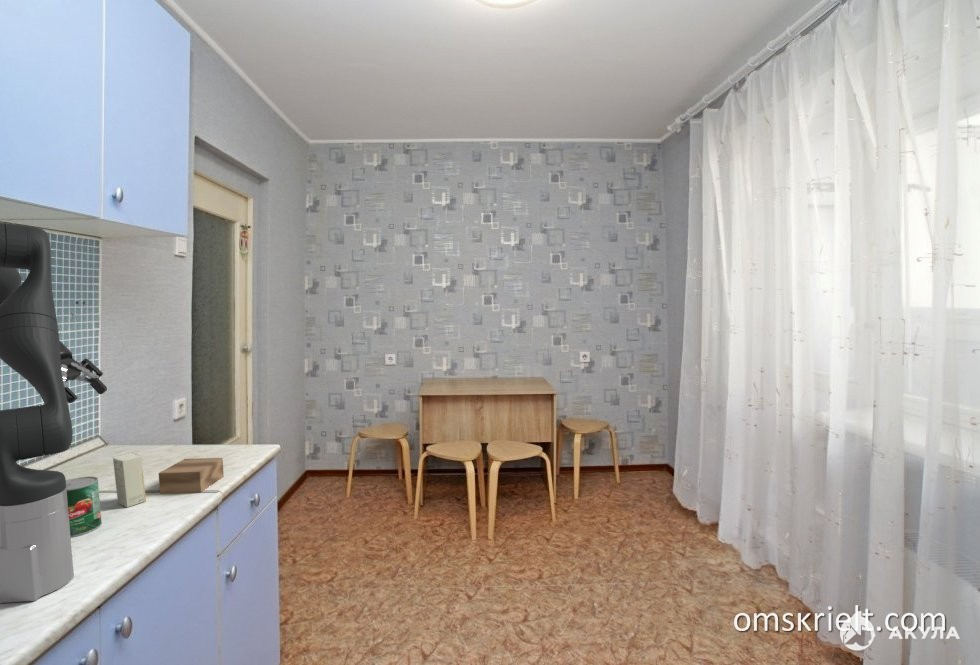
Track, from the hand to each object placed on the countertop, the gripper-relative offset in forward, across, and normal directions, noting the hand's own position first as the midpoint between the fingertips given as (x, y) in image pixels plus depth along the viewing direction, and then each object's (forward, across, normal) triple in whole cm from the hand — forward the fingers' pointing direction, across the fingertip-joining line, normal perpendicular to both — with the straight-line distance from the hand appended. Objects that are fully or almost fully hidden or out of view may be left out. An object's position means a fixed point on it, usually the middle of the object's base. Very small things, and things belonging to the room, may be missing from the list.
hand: (89, 396), depth 116 cm
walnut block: (+33, +10, +6) cm, 35 cm away
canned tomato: (+26, -15, +12) cm, 32 cm away
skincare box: (+27, -1, +12) cm, 30 cm away
